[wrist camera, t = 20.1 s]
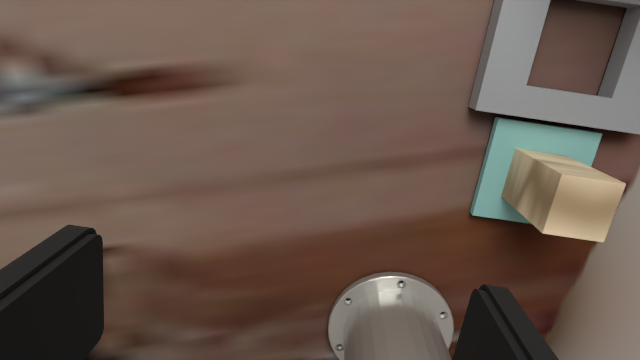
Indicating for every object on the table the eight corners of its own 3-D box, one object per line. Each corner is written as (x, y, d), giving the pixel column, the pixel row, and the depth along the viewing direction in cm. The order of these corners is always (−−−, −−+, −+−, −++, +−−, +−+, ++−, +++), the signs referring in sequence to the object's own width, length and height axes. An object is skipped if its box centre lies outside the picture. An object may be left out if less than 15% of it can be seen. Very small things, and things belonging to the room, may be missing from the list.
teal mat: (564, 225, 40) (569, 229, 39) (469, 212, 40) (472, 215, 39) (597, 131, 37) (602, 133, 36) (495, 116, 37) (498, 118, 36)
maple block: (550, 203, 38) (603, 242, 31) (501, 195, 38) (542, 233, 31) (566, 155, 37) (626, 183, 29) (515, 147, 37) (561, 174, 29)
